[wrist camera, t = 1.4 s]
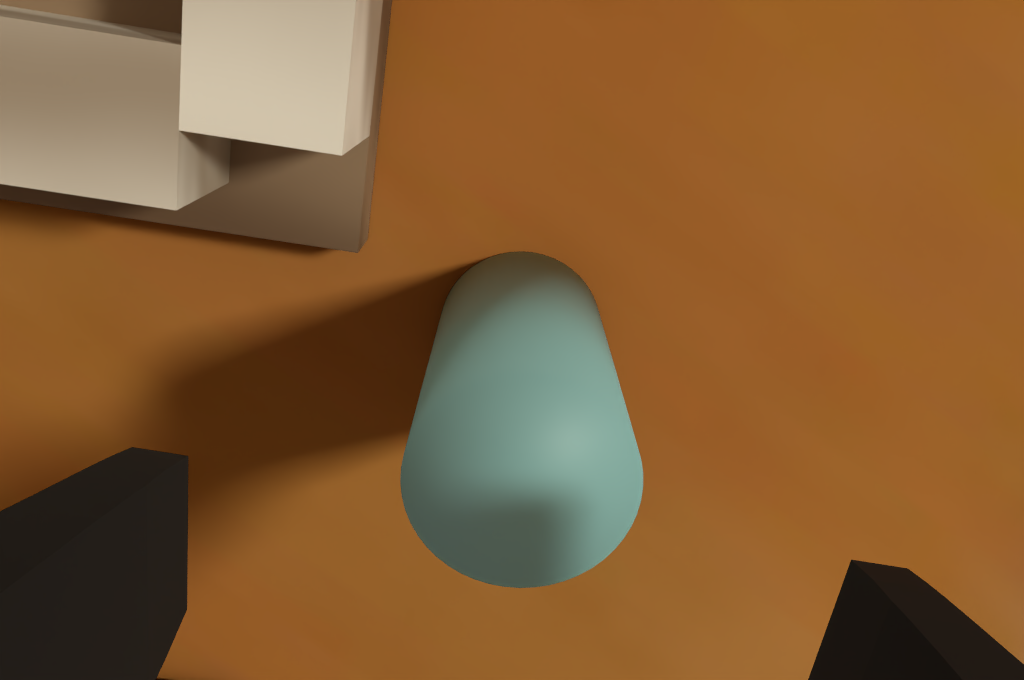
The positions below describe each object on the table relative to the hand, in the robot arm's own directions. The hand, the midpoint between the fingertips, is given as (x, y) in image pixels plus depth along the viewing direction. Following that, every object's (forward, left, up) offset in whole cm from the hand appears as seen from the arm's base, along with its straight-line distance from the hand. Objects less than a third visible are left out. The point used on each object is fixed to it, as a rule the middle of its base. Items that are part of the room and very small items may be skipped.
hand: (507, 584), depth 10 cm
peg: (0, 0, -10) cm, 10 cm away
